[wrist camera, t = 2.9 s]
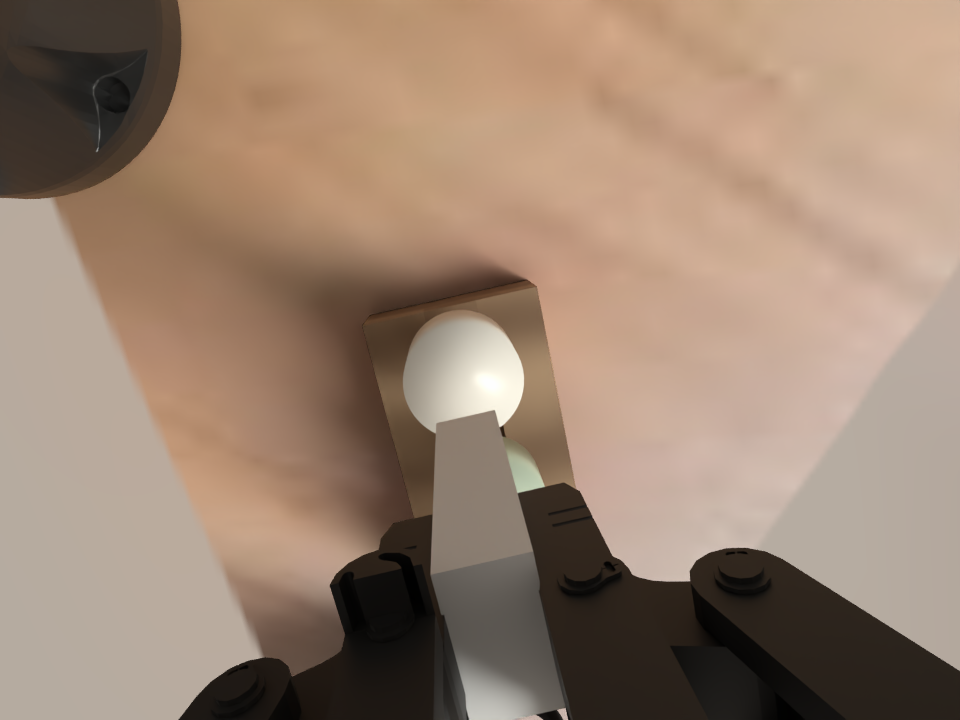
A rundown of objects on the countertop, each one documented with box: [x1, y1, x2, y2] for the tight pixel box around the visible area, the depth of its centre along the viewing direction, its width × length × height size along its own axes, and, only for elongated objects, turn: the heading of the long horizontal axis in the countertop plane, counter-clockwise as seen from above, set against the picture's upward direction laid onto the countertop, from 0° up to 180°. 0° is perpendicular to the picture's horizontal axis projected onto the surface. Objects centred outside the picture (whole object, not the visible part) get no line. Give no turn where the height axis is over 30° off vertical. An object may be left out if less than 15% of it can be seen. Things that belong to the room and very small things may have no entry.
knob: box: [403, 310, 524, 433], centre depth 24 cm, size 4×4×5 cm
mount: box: [362, 280, 576, 518], centre depth 30 cm, size 15×8×3 cm, turn 12°
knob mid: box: [502, 437, 545, 493], centre depth 26 cm, size 4×4×5 cm
